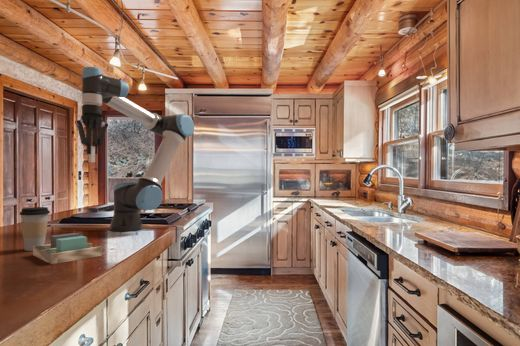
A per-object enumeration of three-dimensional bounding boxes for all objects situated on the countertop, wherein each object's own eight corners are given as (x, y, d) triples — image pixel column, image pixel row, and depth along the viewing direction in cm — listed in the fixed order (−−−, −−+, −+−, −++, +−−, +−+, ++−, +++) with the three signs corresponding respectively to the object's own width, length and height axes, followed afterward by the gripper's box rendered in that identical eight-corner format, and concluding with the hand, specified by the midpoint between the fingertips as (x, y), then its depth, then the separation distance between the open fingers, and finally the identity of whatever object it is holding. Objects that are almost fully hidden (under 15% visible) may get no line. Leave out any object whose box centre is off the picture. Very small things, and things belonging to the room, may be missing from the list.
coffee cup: (24, 247, 129) (24, 207, 129) (52, 245, 132) (53, 206, 132) (14, 252, 120) (15, 209, 120) (45, 251, 123) (46, 209, 123)
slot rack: (80, 248, 129) (80, 239, 129) (102, 255, 117) (102, 245, 117) (32, 255, 117) (33, 245, 117) (51, 264, 105) (51, 253, 106)
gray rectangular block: (75, 250, 125) (75, 232, 125) (79, 252, 122) (80, 234, 122) (50, 254, 119) (50, 235, 119) (54, 256, 116) (55, 237, 116)
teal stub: (81, 254, 119) (82, 235, 119) (86, 256, 116) (87, 237, 116) (56, 258, 113) (56, 239, 113) (61, 261, 110) (61, 240, 110)
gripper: (103, 108, 151) (103, 162, 151) (71, 104, 141) (71, 162, 141) (111, 106, 146) (111, 162, 146) (79, 101, 136) (79, 161, 136)
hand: (91, 162), depth 144 cm, fingers closed
